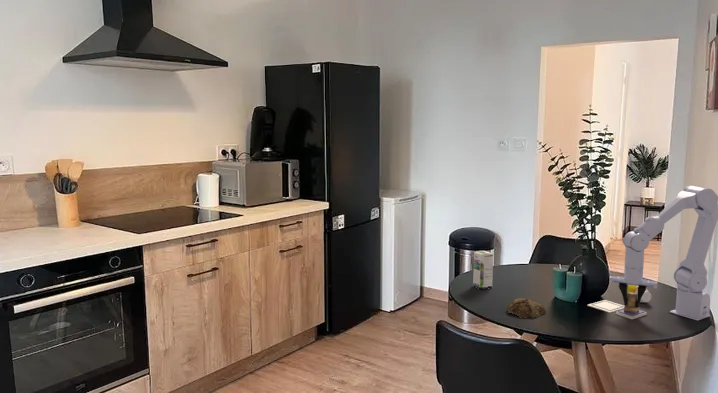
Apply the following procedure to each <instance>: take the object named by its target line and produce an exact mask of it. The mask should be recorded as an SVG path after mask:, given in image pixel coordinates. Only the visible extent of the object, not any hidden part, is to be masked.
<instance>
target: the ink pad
mask: <svg viewBox="0 0 718 393" xmlns="http://www.w3.org/2000/svg"><path fill="white" fill-rule="evenodd" d="M615 315H618V316H620V317H623V318H626V319H630V320H635V319H638V318H642V317H644V316H647V312H646V311H644V310H641V309H639V311H638V313H637V314H634V313H629V312H624V309H621V310H618V311H615Z"/></svg>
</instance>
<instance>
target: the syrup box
mask: <svg viewBox="0 0 718 393" xmlns="http://www.w3.org/2000/svg"><path fill="white" fill-rule="evenodd" d="M472 274H473V278H472V279H473V280H472V281H473V283H472V285H473V284H475V285H477V286H479V287H488V286H492V287H493V280H494V279H493V276H494V253H493V252H489V251H486V250H477V251H474V252H473V273H472Z"/></svg>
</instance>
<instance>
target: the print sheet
mask: <svg viewBox="0 0 718 393" xmlns="http://www.w3.org/2000/svg"><path fill="white" fill-rule="evenodd" d="M624 306H625V305H624V304H620V303H616V302H613V301H610V300H606V299H603V300H600V301H597V302H596V301H595V302H593V303H589V304H587V307H590V308H594V309H597V310H600V311H604V312H606V313H609V314H611V313H614V312H617V311H620V310H623V309H624Z"/></svg>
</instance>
